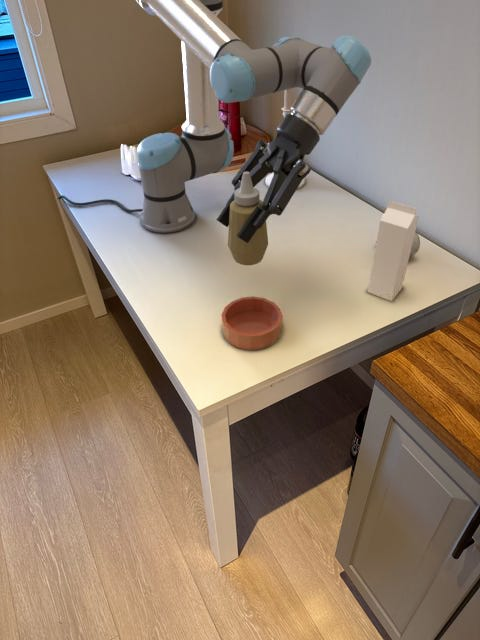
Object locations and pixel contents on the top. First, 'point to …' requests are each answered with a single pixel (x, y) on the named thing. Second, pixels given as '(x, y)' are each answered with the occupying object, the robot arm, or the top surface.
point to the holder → (252, 323)
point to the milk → (392, 250)
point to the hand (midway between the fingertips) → (231, 231)
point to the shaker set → (130, 162)
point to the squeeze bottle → (238, 216)
